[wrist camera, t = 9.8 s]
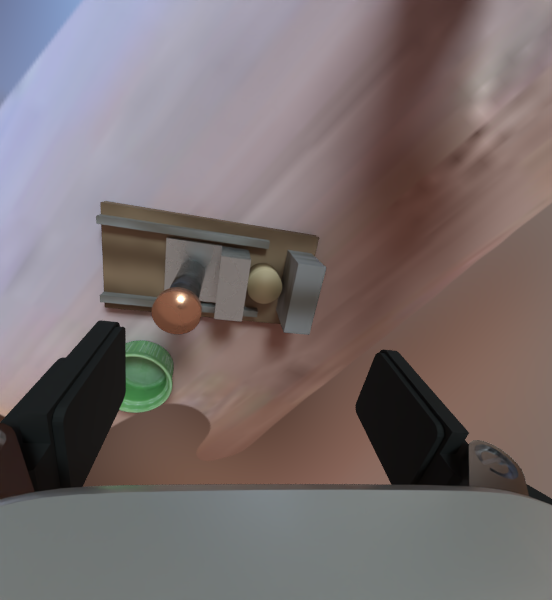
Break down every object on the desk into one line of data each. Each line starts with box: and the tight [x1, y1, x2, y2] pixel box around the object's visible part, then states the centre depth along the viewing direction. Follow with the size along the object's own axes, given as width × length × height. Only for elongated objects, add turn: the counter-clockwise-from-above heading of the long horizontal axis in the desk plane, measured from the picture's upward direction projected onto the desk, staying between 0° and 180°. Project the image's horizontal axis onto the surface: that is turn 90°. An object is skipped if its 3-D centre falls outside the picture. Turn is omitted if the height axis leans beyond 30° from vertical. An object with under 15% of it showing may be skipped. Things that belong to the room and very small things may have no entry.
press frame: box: [96, 201, 326, 335], centre depth 33 cm, size 12×24×8 cm, turn 80°
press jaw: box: [152, 237, 251, 334], centre depth 29 cm, size 7×9×12 cm
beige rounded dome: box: [247, 263, 282, 304], centre depth 34 cm, size 4×4×3 cm
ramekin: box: [119, 341, 173, 413], centre depth 38 cm, size 9×9×4 cm
